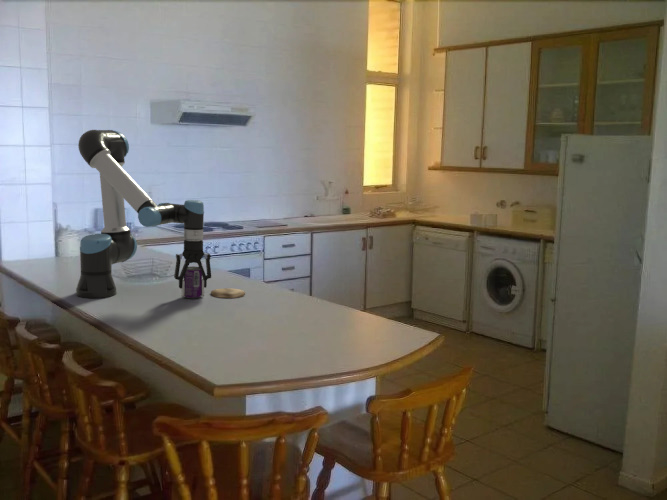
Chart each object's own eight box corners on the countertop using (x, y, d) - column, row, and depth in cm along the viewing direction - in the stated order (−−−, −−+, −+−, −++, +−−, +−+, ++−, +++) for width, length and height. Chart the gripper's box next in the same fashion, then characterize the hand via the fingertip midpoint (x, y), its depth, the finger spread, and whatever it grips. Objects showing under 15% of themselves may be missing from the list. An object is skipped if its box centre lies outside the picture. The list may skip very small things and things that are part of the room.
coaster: (214, 298, 278) (214, 296, 278) (207, 290, 290) (207, 288, 290) (248, 297, 283) (248, 295, 283) (240, 289, 296) (240, 287, 296)
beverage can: (203, 295, 282) (204, 266, 279) (198, 299, 275) (199, 270, 272) (186, 294, 282) (187, 265, 280) (181, 298, 275) (181, 269, 273)
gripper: (169, 241, 267) (168, 299, 271) (220, 240, 275) (219, 297, 279) (166, 238, 274) (165, 294, 278) (216, 237, 281) (215, 292, 285)
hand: (192, 295), depth 278 cm, fingers closed on beverage can, 7 cm apart
